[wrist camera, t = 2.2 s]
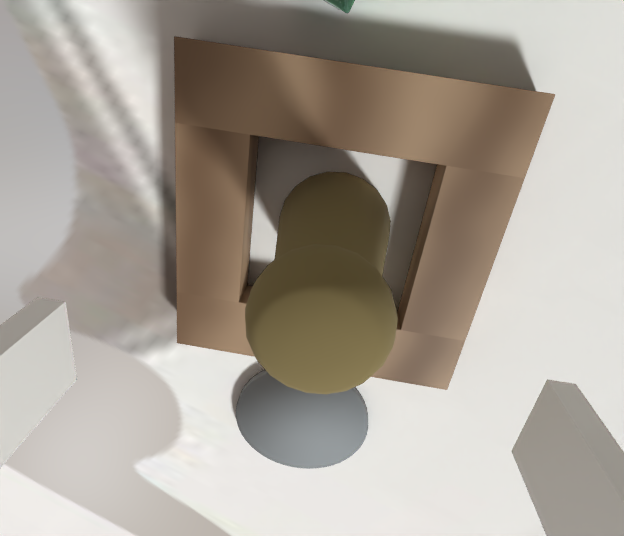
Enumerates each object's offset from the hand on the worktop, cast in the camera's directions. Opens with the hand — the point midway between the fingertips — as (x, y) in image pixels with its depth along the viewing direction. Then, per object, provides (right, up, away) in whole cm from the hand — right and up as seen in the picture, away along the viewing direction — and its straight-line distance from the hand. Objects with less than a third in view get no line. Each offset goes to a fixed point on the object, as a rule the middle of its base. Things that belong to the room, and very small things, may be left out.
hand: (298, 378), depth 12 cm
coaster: (0, -7, +17) cm, 19 cm away
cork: (+2, +5, +11) cm, 13 cm away
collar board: (+2, +5, +11) cm, 12 cm away
